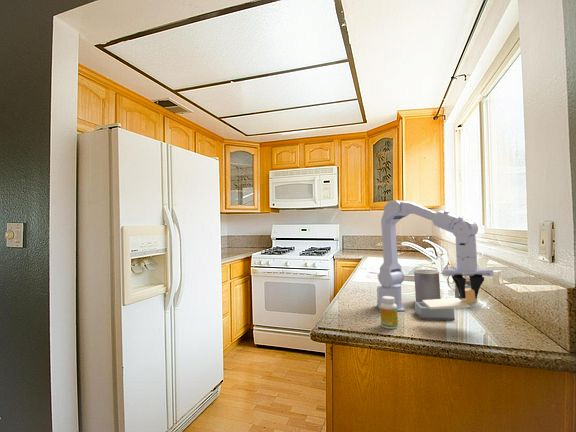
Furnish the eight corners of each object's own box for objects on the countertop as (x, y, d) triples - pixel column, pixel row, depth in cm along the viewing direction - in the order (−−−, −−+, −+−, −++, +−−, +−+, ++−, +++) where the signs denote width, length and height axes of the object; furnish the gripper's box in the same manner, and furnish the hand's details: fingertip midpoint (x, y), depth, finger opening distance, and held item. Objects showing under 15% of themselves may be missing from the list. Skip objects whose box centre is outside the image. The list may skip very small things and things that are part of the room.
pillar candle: (427, 299, 127) (425, 265, 128) (446, 304, 118) (444, 268, 119) (410, 302, 124) (408, 267, 124) (428, 308, 115) (426, 270, 115)
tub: (421, 319, 102) (421, 308, 102) (415, 312, 110) (414, 301, 110) (454, 320, 100) (454, 308, 100) (445, 312, 108) (445, 302, 108)
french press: (479, 307, 113) (476, 245, 114) (446, 303, 120) (443, 244, 121) (481, 301, 121) (478, 243, 122) (450, 298, 128) (447, 242, 129)
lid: (430, 309, 91) (428, 295, 92) (422, 302, 100) (420, 289, 100) (480, 306, 89) (478, 292, 89) (467, 299, 97) (466, 286, 98)
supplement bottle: (396, 330, 92) (394, 300, 93) (379, 327, 95) (378, 298, 95) (399, 325, 97) (398, 296, 97) (383, 322, 100) (382, 294, 100)
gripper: (447, 258, 91) (449, 300, 91) (497, 257, 89) (499, 301, 88) (439, 255, 98) (441, 295, 98) (485, 255, 96) (487, 295, 95)
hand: (468, 297), depth 94 cm, fingers closed on lid, 3 cm apart
